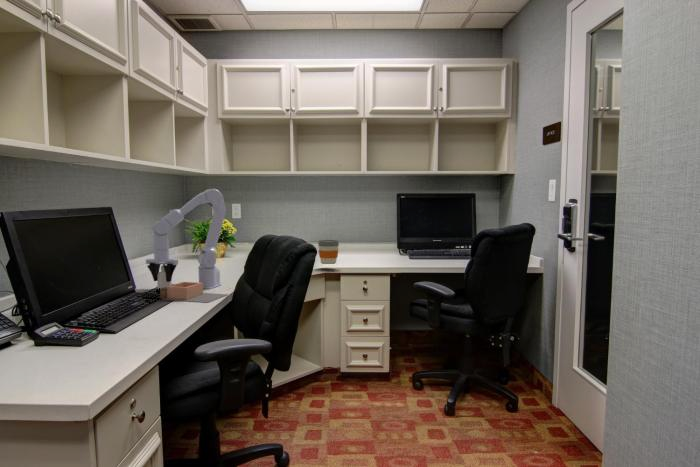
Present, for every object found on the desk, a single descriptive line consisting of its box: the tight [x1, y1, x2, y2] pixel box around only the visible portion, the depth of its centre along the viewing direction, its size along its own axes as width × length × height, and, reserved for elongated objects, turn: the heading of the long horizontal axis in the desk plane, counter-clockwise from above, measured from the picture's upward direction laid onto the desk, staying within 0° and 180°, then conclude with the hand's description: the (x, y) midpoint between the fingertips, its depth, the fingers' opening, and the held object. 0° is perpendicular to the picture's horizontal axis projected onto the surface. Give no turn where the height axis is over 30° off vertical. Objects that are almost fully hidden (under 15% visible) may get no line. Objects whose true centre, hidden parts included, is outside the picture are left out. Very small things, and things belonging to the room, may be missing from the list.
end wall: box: [159, 287, 167, 300], centre depth 165 cm, size 13×2×4 cm, turn 166°
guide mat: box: [163, 292, 229, 304], centre depth 163 cm, size 14×24×1 cm, turn 76°
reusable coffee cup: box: [317, 239, 339, 264], centre depth 248 cm, size 12×12×15 cm
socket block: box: [167, 281, 204, 299], centre depth 163 cm, size 10×9×4 cm
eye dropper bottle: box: [156, 264, 173, 290], centre depth 174 cm, size 4×6×12 cm
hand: (162, 281), depth 173 cm, fingers closed on eye dropper bottle, 6 cm apart
